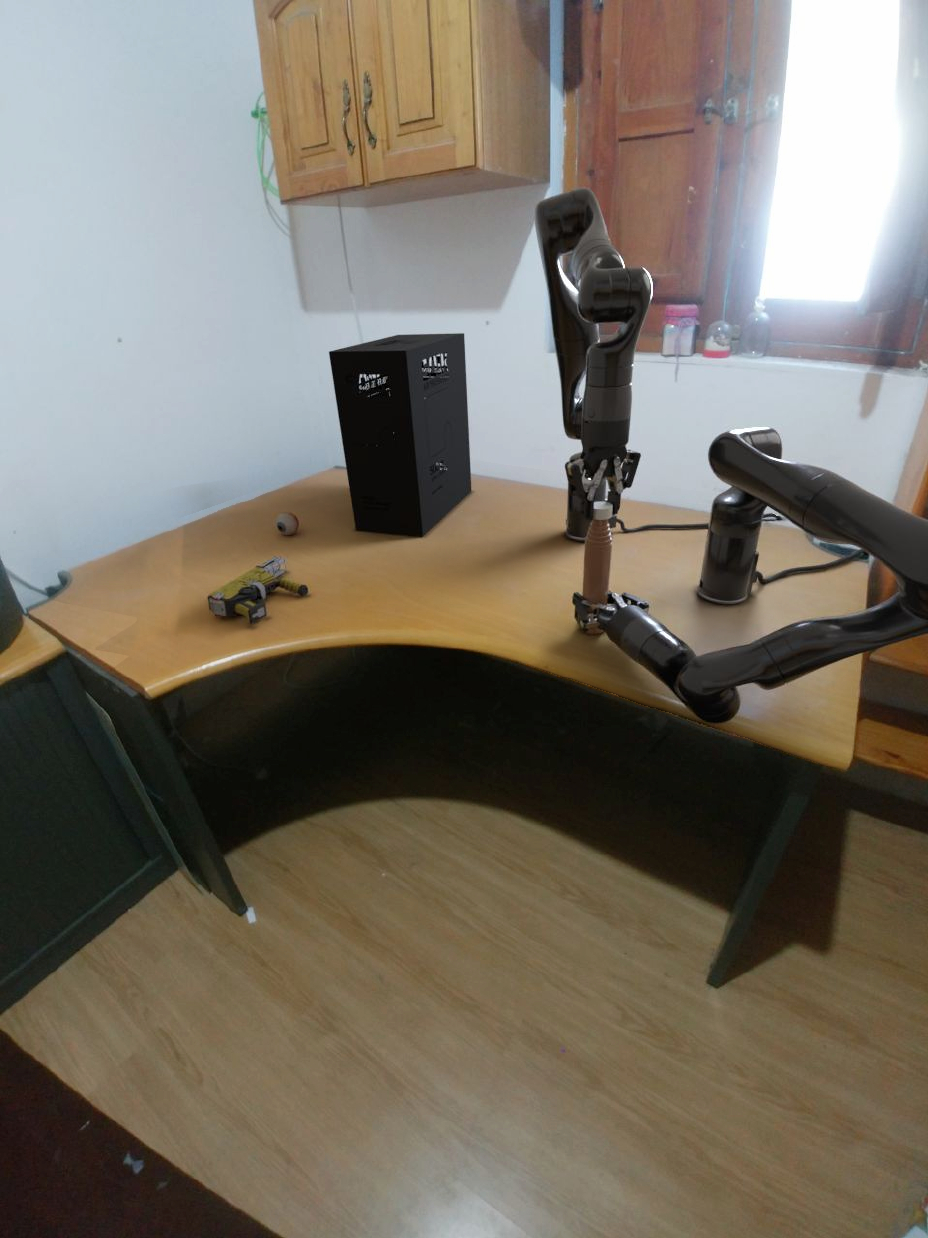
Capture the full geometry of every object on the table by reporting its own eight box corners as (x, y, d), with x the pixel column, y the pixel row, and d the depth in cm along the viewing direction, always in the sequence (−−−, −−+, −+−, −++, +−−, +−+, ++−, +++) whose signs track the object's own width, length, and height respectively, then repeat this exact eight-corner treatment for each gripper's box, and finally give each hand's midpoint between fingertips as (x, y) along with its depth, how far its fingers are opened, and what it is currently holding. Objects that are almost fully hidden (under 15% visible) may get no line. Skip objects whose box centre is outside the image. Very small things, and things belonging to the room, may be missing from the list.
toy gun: (328, 564, 138) (272, 553, 142) (265, 610, 118) (201, 595, 122) (329, 583, 141) (274, 571, 145) (267, 631, 121) (205, 616, 125)
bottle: (610, 625, 115) (619, 506, 103) (598, 636, 112) (606, 515, 100) (588, 618, 118) (595, 502, 106) (575, 629, 115) (581, 510, 103)
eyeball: (273, 537, 164) (268, 516, 161) (287, 528, 169) (282, 508, 166) (291, 539, 161) (286, 518, 158) (305, 530, 166) (301, 510, 163)
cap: (585, 513, 105) (585, 503, 104) (606, 510, 106) (606, 500, 105) (594, 521, 102) (594, 510, 101) (615, 518, 102) (616, 507, 101)
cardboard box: (412, 487, 195) (398, 334, 173) (471, 491, 189) (464, 333, 166) (355, 529, 165) (328, 351, 143) (423, 536, 159) (406, 350, 136)
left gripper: (627, 404, 101) (619, 502, 109) (554, 416, 96) (552, 518, 104) (658, 411, 95) (647, 514, 103) (582, 424, 90) (577, 531, 98)
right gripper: (601, 665, 100) (553, 619, 114) (673, 645, 104) (618, 603, 118) (604, 626, 96) (554, 583, 110) (679, 607, 100) (621, 568, 114)
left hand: (599, 515), depth 104 cm, fingers open, 4 cm apart
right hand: (587, 593), depth 114 cm, fingers closed on bottle, 4 cm apart
